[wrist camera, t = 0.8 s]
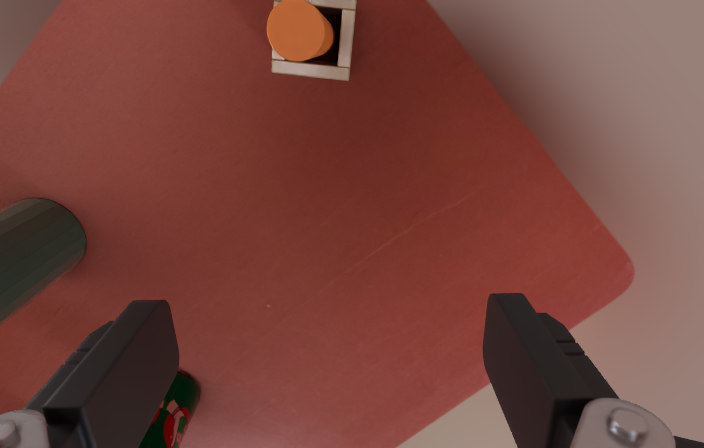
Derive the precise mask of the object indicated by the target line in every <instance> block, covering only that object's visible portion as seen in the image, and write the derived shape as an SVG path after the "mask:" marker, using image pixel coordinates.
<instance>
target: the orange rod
mask: <svg viewBox="0 0 704 448" xmlns="http://www.w3.org/2000/svg"><path fill="white" fill-rule="evenodd" d="M267 35H268V39H269V42H270V44H271V46H272V47H273V49H274V50H275V51H276V52H277V53H278V54H279V55H280V56H282V57H283V58H285V59H287V60H290V61H297V62H298V61H305V60H308V59H311V58H314V57H317V56H320V55H323V54H326V53H328V52H330V51H331V50H332V49H333V48H334V46H335V43H336V32H335V29H334V27H333V26H332V25H331V24H330V22H329V21H328V20H327V19H326V18H325V17H324V16H323V15H322V14H321V13H320V11H319V10H318V9H317V8H316V7H315V6H314V5H313V4H311V3H310V2H308V1H306V0H283V1H281V2H280V3H278V4H277V5H276V6H275V7H274V8H273V10H272V11H271V13H270V15H269V18H268V22H267Z"/></svg>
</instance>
